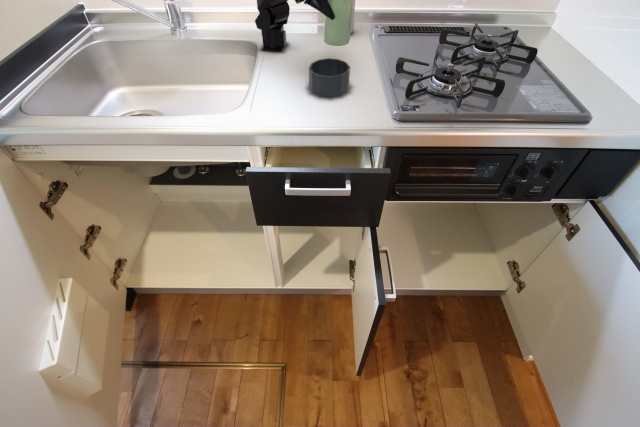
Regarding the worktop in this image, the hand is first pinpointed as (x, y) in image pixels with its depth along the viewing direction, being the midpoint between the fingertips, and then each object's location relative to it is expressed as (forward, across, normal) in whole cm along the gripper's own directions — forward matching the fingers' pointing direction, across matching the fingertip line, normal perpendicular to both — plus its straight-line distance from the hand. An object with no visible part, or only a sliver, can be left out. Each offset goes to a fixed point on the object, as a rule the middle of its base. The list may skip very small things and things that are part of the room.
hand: (342, 14), depth 85 cm
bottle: (-1, +24, +22) cm, 32 cm away
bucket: (+13, -9, +8) cm, 18 cm away
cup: (+4, 0, +6) cm, 7 cm away
